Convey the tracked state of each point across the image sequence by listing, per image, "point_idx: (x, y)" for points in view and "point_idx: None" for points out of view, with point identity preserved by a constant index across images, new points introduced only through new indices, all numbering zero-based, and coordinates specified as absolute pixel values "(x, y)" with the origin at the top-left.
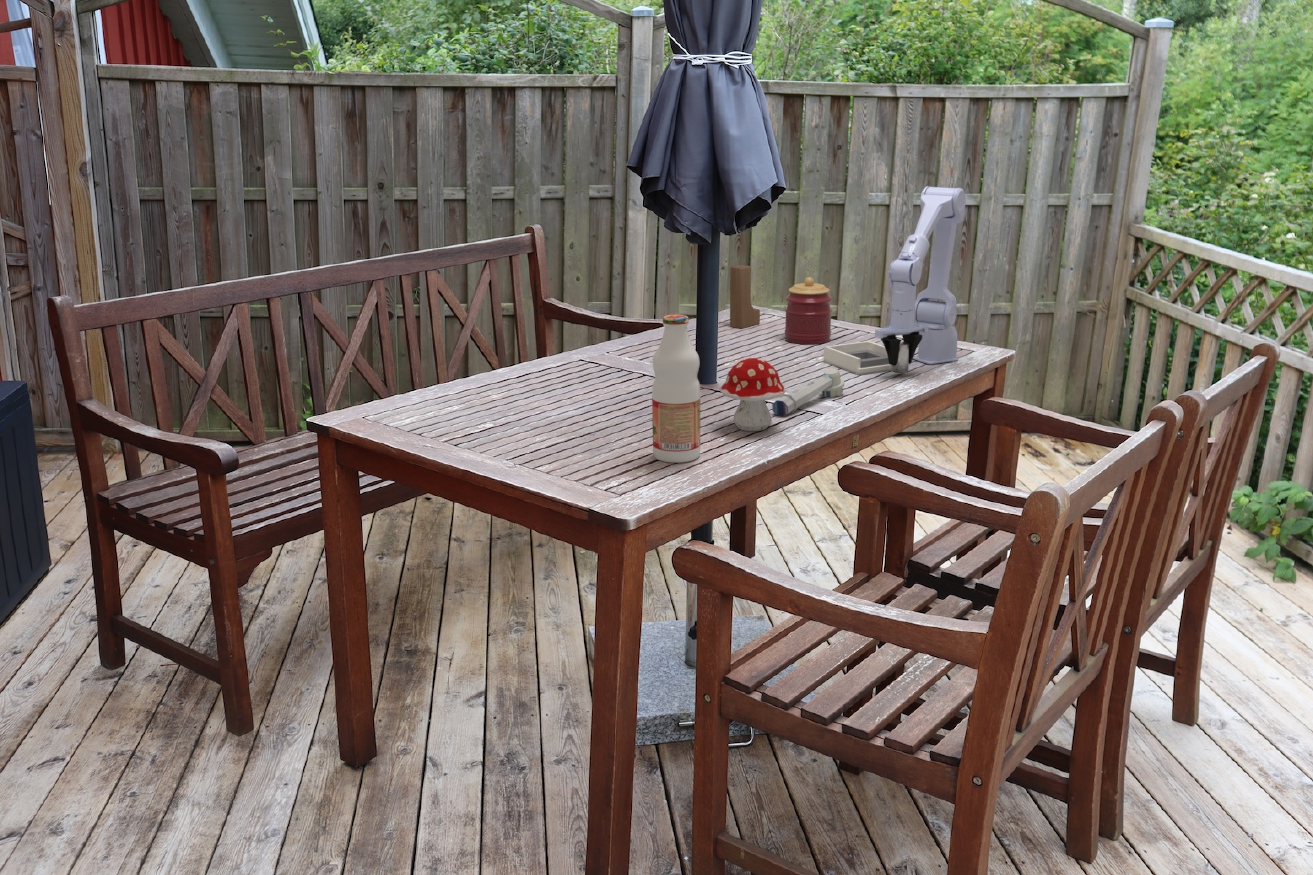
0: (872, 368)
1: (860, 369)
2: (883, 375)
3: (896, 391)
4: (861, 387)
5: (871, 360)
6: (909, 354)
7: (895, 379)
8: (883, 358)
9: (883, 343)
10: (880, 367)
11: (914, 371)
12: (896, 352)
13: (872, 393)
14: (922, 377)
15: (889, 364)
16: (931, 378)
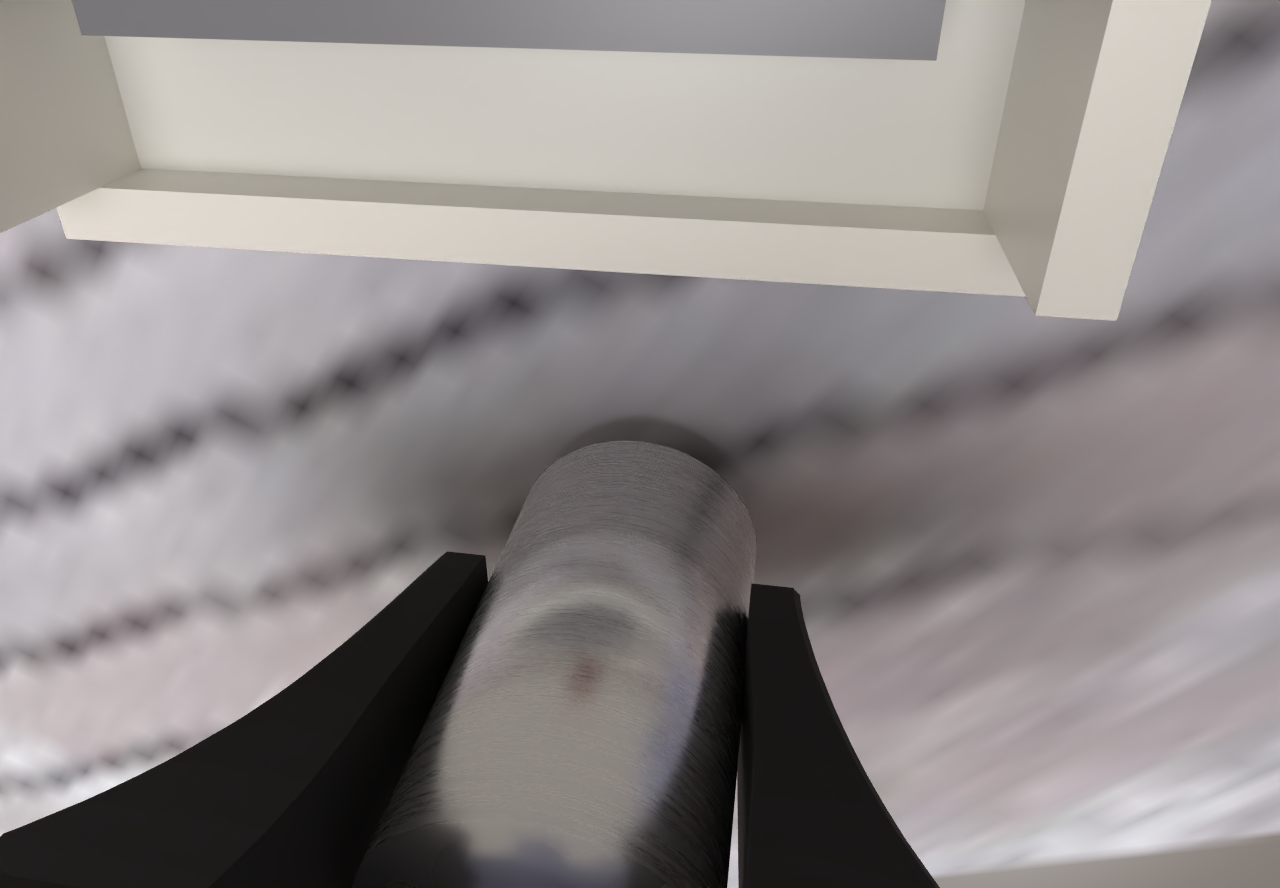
0: (319, 250)
1: (88, 239)
2: (457, 384)
3: None
4: (4, 615)
5: (374, 43)
6: (739, 796)
7: None
8: (702, 35)
9: (138, 785)
10: (480, 259)
11: (1007, 447)
12: None
13: (52, 775)
14: (841, 686)
15: (704, 232)
16: (896, 756)
